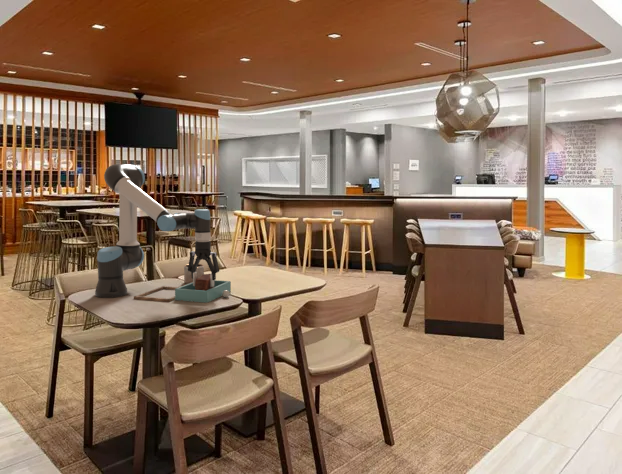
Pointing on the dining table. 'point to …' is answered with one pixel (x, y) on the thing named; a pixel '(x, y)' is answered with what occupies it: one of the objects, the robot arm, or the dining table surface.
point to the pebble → (225, 293)
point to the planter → (188, 274)
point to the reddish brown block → (203, 283)
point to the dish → (202, 292)
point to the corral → (153, 297)
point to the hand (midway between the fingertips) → (203, 285)
